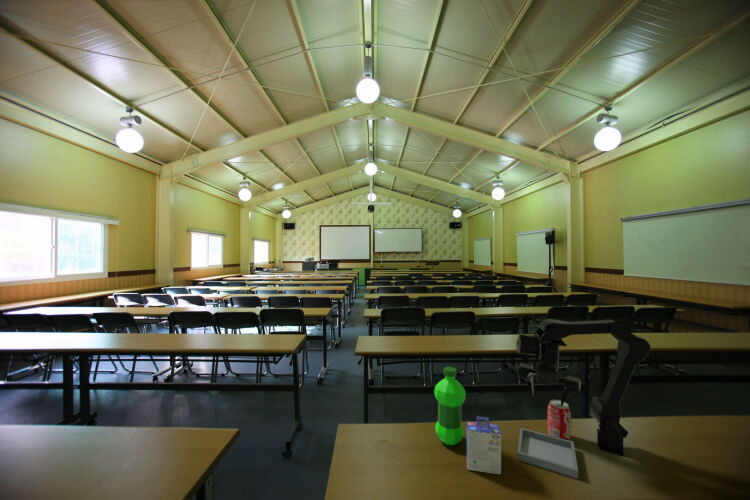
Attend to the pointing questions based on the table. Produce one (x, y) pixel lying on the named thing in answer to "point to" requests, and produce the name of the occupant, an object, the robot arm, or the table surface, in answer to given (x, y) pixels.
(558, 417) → the soda can
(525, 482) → the table surface
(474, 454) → the ink cartridge box
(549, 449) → the tray
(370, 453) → the table surface
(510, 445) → the table surface
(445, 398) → the plastic bottle
